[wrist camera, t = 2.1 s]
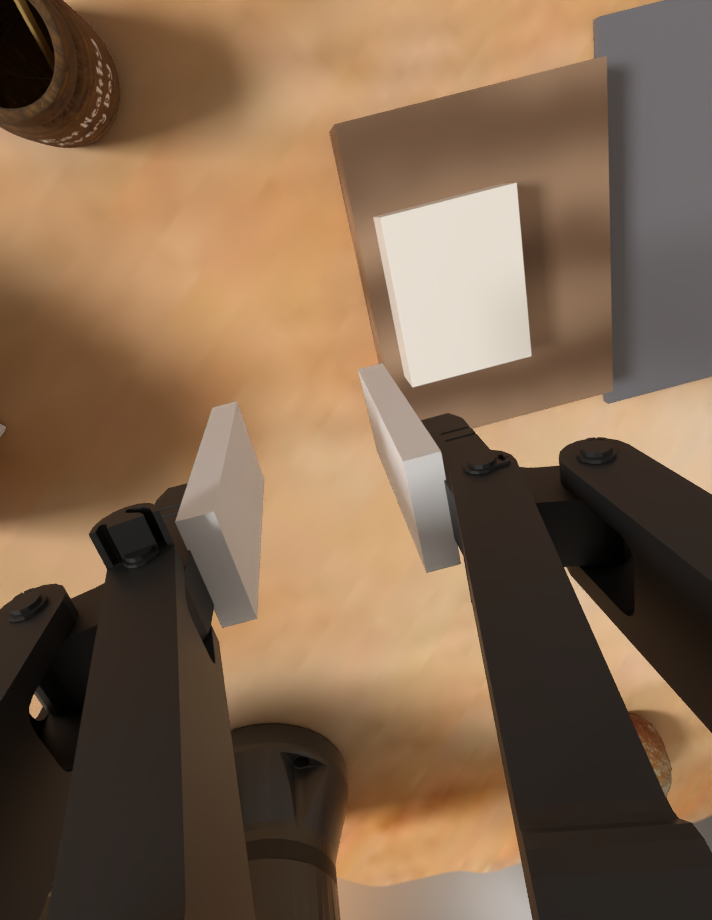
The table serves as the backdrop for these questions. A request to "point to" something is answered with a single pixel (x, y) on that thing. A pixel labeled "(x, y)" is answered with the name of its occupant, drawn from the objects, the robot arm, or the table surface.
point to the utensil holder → (54, 75)
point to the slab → (456, 283)
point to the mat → (659, 193)
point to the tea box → (2, 429)
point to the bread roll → (654, 751)
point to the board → (541, 220)
